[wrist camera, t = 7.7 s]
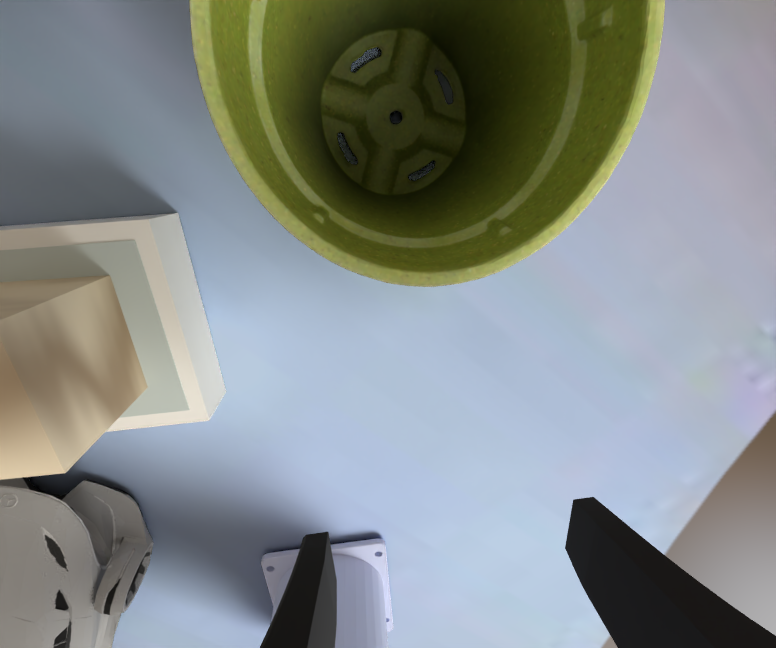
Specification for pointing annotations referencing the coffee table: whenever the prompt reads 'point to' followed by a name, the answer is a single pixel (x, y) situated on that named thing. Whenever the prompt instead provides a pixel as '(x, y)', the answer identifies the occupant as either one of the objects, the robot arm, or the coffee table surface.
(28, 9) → the coffee table surface
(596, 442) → the coffee table surface
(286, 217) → the plant pot
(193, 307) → the cream square tray
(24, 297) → the maple cube
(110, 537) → the car model
